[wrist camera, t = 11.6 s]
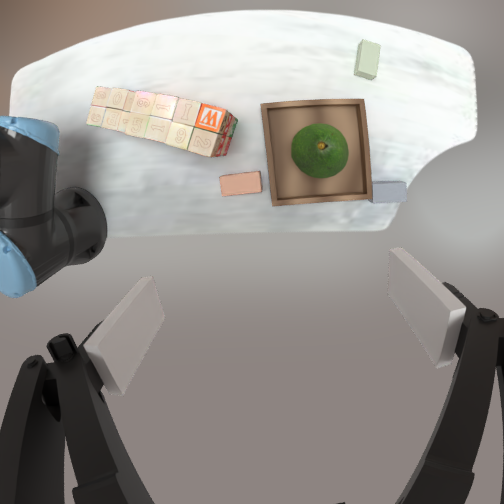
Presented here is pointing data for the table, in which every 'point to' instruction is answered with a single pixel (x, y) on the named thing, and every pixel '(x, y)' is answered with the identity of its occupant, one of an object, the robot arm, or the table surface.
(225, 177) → the terracotta brick
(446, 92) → the table surface
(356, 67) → the sage brick
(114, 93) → the stack of blocks
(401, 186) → the slate brick
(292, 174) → the tray
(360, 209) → the table surface
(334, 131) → the fruit
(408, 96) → the table surface
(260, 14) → the table surface
